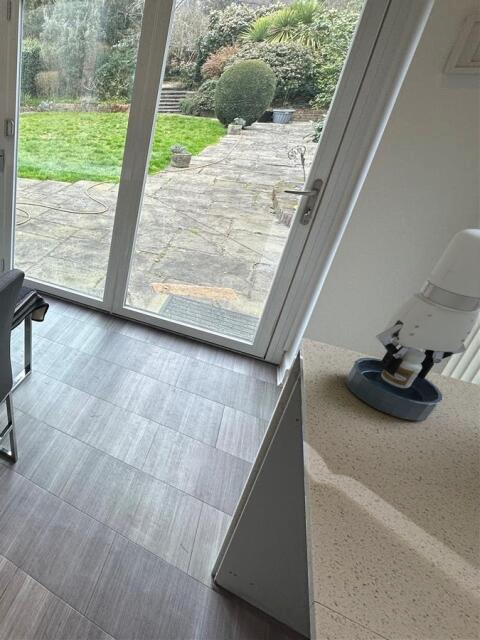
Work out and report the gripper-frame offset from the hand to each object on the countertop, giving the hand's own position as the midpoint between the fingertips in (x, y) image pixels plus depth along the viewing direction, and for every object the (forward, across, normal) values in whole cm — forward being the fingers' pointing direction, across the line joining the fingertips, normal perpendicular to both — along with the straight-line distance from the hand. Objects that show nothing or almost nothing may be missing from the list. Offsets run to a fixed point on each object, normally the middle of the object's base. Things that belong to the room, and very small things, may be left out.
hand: (401, 370), depth 83 cm
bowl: (+7, 0, 0) cm, 7 cm away
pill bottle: (+3, 0, 0) cm, 3 cm away
